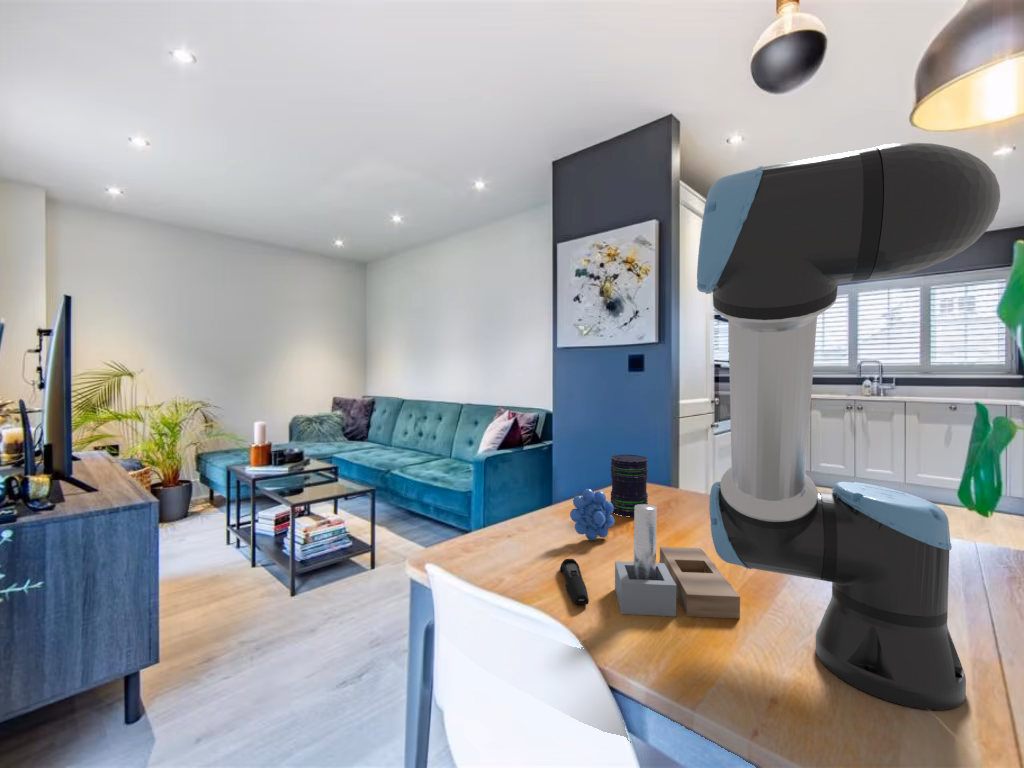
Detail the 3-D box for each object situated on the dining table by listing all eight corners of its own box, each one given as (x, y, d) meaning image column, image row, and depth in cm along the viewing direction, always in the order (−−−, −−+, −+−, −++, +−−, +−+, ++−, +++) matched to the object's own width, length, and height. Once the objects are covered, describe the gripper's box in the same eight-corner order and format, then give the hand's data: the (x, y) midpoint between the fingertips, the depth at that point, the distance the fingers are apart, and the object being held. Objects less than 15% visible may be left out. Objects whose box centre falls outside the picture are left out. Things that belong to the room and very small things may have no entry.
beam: (739, 618, 73) (740, 596, 73) (687, 616, 74) (687, 594, 74) (700, 565, 93) (701, 547, 93) (659, 563, 94) (659, 546, 94)
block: (676, 616, 74) (676, 585, 74) (621, 613, 75) (621, 583, 74) (663, 591, 82) (664, 563, 82) (614, 588, 83) (615, 561, 83)
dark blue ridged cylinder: (640, 506, 133) (640, 454, 132) (653, 517, 123) (653, 461, 123) (606, 507, 132) (606, 454, 132) (616, 518, 122) (616, 461, 122)
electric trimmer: (570, 613, 76) (570, 594, 76) (559, 570, 91) (559, 554, 91) (593, 613, 76) (593, 594, 76) (578, 570, 91) (578, 554, 91)
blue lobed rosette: (580, 551, 100) (580, 495, 100) (564, 540, 107) (565, 488, 106) (625, 543, 105) (625, 490, 105) (607, 533, 111) (607, 483, 111)
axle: (657, 601, 76) (659, 510, 76) (635, 600, 77) (636, 510, 76) (652, 591, 80) (654, 504, 80) (631, 590, 80) (632, 503, 80)
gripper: (828, 289, 76) (826, 419, 77) (762, 309, 101) (760, 407, 102) (780, 290, 77) (778, 418, 78) (726, 309, 102) (725, 406, 103)
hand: (768, 412), depth 90 cm, fingers open, 13 cm apart
